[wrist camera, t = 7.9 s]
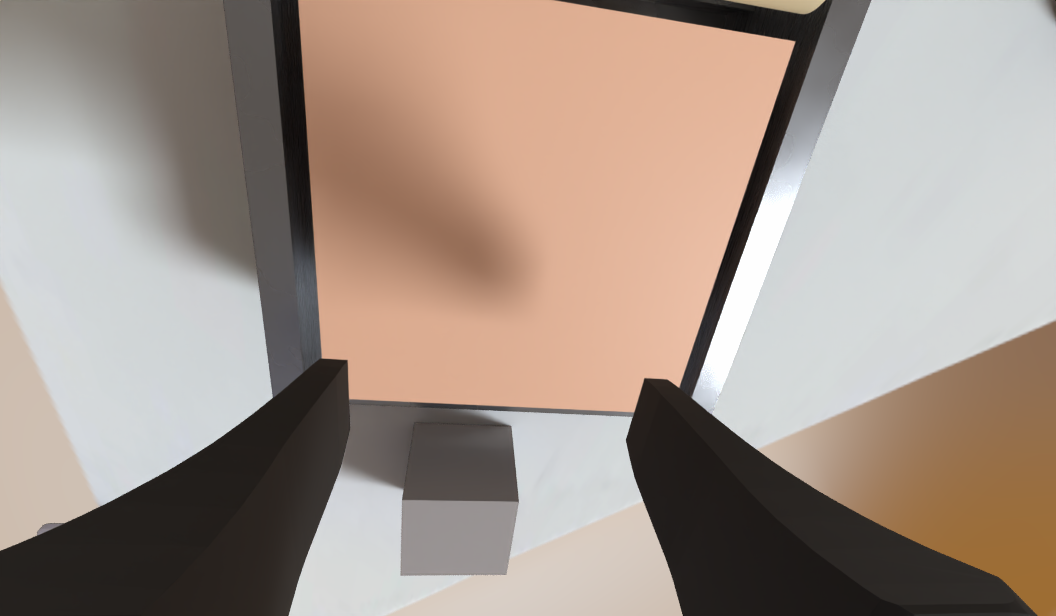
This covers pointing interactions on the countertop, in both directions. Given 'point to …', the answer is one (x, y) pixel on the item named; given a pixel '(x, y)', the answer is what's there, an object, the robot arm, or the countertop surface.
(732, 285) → the trapdoor frame
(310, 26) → the trapdoor
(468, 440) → the grey cube
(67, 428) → the countertop surface
